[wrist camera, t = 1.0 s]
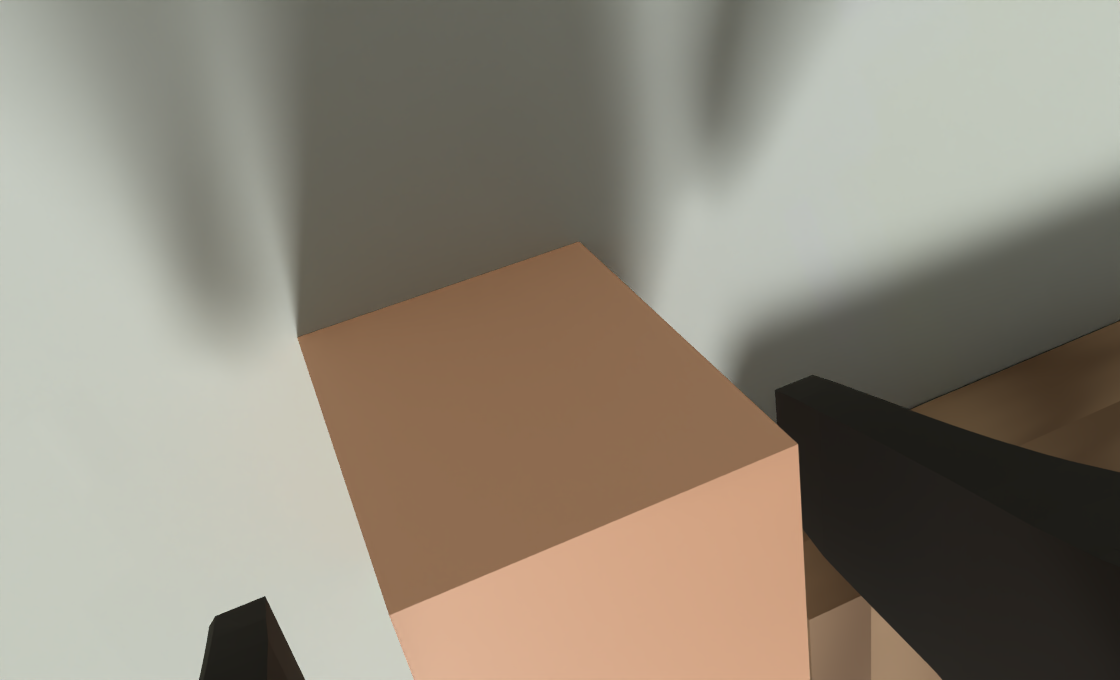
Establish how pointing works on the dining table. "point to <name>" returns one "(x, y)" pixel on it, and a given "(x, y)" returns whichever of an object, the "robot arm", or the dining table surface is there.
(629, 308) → the terracotta block
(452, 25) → the dining table surface
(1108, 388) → the wooden tray
